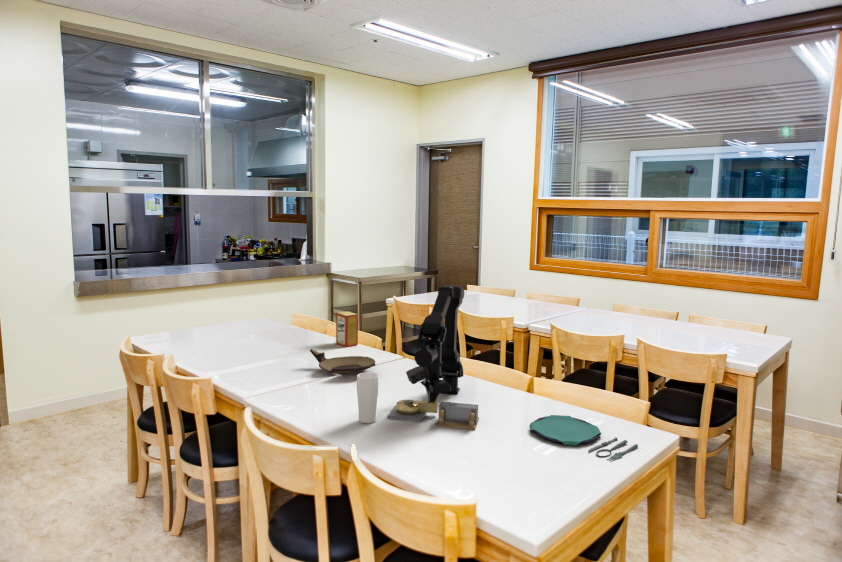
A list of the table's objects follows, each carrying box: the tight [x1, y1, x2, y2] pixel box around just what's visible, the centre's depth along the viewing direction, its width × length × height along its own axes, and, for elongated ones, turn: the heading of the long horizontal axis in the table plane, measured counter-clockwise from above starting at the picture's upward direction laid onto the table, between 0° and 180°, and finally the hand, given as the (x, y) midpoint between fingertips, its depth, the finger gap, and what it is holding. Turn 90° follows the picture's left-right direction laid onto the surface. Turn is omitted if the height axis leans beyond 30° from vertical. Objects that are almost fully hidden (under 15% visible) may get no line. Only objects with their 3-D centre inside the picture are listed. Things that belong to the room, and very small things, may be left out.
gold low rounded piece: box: [396, 399, 439, 415], centre depth 182 cm, size 14×8×3 cm, turn 81°
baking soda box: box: [335, 310, 359, 348], centre depth 273 cm, size 10×6×16 cm
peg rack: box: [436, 409, 480, 431], centre depth 176 cm, size 9×12×5 cm
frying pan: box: [309, 348, 377, 376], centre depth 229 cm, size 22×30×8 cm
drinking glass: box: [356, 371, 379, 425], centre depth 175 cm, size 7×7×15 cm
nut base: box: [387, 404, 427, 423], centre depth 183 cm, size 11×11×1 cm
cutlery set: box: [528, 414, 639, 462], centre depth 165 cm, size 20×30×2 cm, turn 40°
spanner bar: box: [438, 401, 479, 425], centre depth 176 cm, size 12×4×5 cm, turn 77°
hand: (431, 404), depth 183 cm, fingers closed
